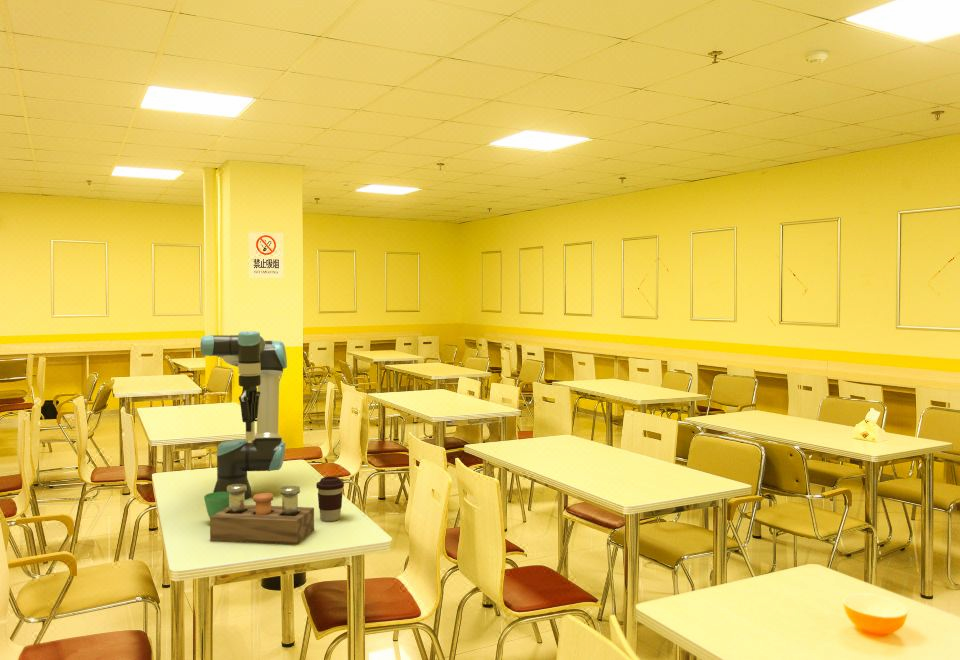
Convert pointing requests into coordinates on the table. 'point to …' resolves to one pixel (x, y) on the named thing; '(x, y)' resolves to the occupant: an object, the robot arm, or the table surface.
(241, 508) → the plunger
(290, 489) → the plunger
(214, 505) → the mug
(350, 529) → the table surface
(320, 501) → the coffee cup
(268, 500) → the plunger
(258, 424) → the robot arm
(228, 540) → the brown wooden block
